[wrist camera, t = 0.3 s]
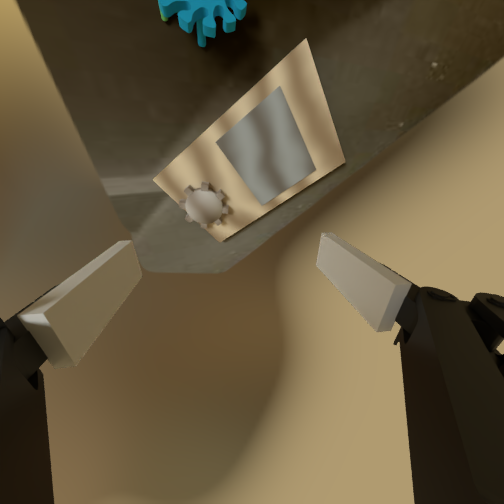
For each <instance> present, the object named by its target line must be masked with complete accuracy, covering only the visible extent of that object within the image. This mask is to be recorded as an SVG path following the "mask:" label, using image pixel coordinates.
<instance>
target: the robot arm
mask: <svg viewBox="0 0 504 504" xmlns="http://www.w3.org/2000/svg"><path fill="white" fill-rule="evenodd" d="M316 266H317V267H318V268H319V269H320V270H321V271H322V273H323V274H324V275H325V276H326V277H327V278H328V279H329V280H330V281H331V282H332V284H334V286H335V287H336V288H337V289H338V290H339V291H340V292H341V293H342V295H343V296H344V297H345V298H346V299H347V300H348V301H349V302H350V303H351V305H352V306H353V307H354V308H355V309H356V310H357V311H358V312H359V313H360V314H361V315H362V317H363V318H364V319H365V320H366V321H367V322H368V323H369V324H370V326H371V327H372V328H373V329H374V330H375V331H376V332H383V331H391V329H392V327H393V325H394V322H395V321H396V322H397V323H398V324H399V325H400V326H401V328H400V330H399V333H398V335H397V337H396V339H395V341H394V345H397V343H398V342H400V351H401V362H402V372H403V383H404V394H405V405H406V415H407V426H408V437H409V449H410V459H411V470H412V480H413V492H414V502H415V504H504V354H503V355H502V354H500V353H499V352H498V351H497V350H496V348H497V347H498V346H499V344H500V343H501V342H502V341H503V340H504V297H502V296H501V297H500V296H499V295H495V294H489V293H477V294H476V295H475V296H474V298H473V299H472V301H471V302H468V301H460V300H458V299H457V298H456V297H455V296H454V295H452V294H450V293H448V292H446V291H443V290H440V289H437V288H433V287H421V288H420V287H418V286H417V285H415V284H413V283H412V282H410V281H409V280H407V279H406V278H404V277H403V276H401V275H398V273H396V272H395V271H392V270H391V269H390V268H388V267H387V266H385V265H383V264H381V263H379V262H377V261H376V260H374V259H372V258H371V257H369V256H368V255H366V254H365V253H363V252H361V251H360V250H358V249H357V248H355V247H353V246H352V245H350V244H349V243H347V242H346V241H344V240H342V239H341V238H339V237H338V236H336V235H335V234H333V233H332V232H330V233H329V232H328V233H322V234H321V239H320V245H319V251H318V257H317V262H316ZM141 277H142V273H141V269H140V266H139V262H138V259H137V255H136V252H135V248H134V245H133V241H132V240H130V241H119V242H117V243H116V244H115V245H113V246H112V247H110V248H109V249H108V250H106V251H105V252H104V253H102V254H101V255H100V256H98V257H97V258H95V259H94V260H93V261H91V262H90V263H89V264H87V265H86V266H84V267H83V268H82V269H80V270H79V271H78V272H76V273H75V274H73V275H72V276H71V277H69V278H68V279H66V280H65V281H64V282H63V283H61V284H59V285H57V286H55V287H53V288H51V289H50V290H49V291H47V292H46V293H45V294H43V296H40V297H39V298H37V299H36V300H35V302H32V303H31V304H29V305H28V306H26V307H25V308H23V309H22V310H21V311H19V312H18V313H16V314H15V315H14V316H12V317H11V318H10V319H8V320H7V321H5V322H3V320H2V319H1V318H0V504H54V496H53V484H52V474H51V473H52V472H51V461H50V449H49V437H48V425H47V414H46V402H45V390H44V378H43V373H42V372H41V370H40V369H39V367H40V366H41V365H42V364H43V363H44V362H45V361H46V360H47V359H48V360H49V362H50V363H51V365H52V366H53V367H54V369H57V368H66V367H75V366H77V364H78V363H79V362H80V360H81V359H82V358H83V356H84V355H85V354H86V352H87V351H88V349H89V348H90V347H91V345H92V344H93V342H94V341H95V340H96V339H97V337H98V336H99V335H100V333H101V332H102V330H103V329H104V328H105V326H106V325H107V324H108V322H109V321H110V320H111V318H112V317H113V315H114V314H115V313H116V311H117V310H118V309H119V307H120V306H121V305H122V303H123V302H124V300H125V299H126V298H127V297H128V295H129V294H130V292H131V291H132V290H133V288H134V287H135V286H136V284H137V283H138V282H139V280H140V279H141Z"/></svg>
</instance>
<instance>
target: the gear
mask: <svg viewBox="0 0 504 504" xmlns="http://www.w3.org/2000/svg"><path fill="white" fill-rule="evenodd" d="M158 3H159V8H160V12H161V17H162V20H164V21H168V17H170V16H172V15H173V14H174V13H177V12H179V13H178V20H179V26H180V27H181V28H182V29H183V30H185V31H186V32H188V33H190V32H192V30H193V25H194V23H195V22H197V36H198V44H199V46H201V47H205V46H206V36H208V37H212V38H215V36H216V23H215V21H214V19H215V17H216V16H221V17H222V18H223V29H224V31H225V32H227V33H229V32H233V31H235V26H236V18H237V19H239V20H241V19H243V18H244V16H245V14H246V7H247V3H246V2H245V1H244V0H158ZM227 7H230V8H232V9H233V11H234V15H235V16H234V15H233V14H232V13H231V12H230V11H229V10H228V8H227ZM235 17H236V18H235Z"/></svg>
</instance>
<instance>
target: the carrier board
mask: <svg viewBox="0 0 504 504" xmlns="http://www.w3.org/2000/svg"><path fill="white" fill-rule="evenodd" d="M343 163H345V159H344V155H343V152H342V149H341V146H340V143H339V140H338V136H337V133H336V130H335V127H334V124H333V121H332V118H331V114H330V111H329V108H328V105H327V102H326V99H325V95H324V92H323V89H322V86H321V83H320V80H319V76H318V73H317V70H316V67H315V64H314V61H313V58H312V54H311V51H310V48H309V45H308V42H307V39H305V40H303V41H302V42H301V43H300V44H299V45H298V46H297V47H296V48H294V49H293V50H292V51H291V52H290V53H289V54H288V55H287V56H286V57H285V58H284V59H283V60H281V61H280V62H279V63H278V64H277V65H276V66H275V67H274V68H273V69H272V70H271V71H270V72H268V73H267V74H266V75H265V76H264V77H263V78H262V79H261V80H260V81H259V82H258V83H257V84H255V85H254V86H253V87H252V88H251V89H250V90H249V91H248V92H247V93H246V94H245V95H244V96H242V97H241V98H240V99H239V100H238V101H237V102H236V103H235V104H234V105H233V106H232V107H231V108H229V109H228V110H227V111H226V112H225V113H224V114H223V115H222V116H221V117H220V118H219V119H218V120H216V121H215V122H214V123H213V124H212V125H211V126H210V127H209V128H208V129H207V130H206V131H205V132H203V133H202V134H201V135H200V136H199V137H198V138H197V139H196V140H195V141H194V142H193V143H192V144H190V145H189V146H188V147H187V148H186V149H185V150H184V151H183V152H182V153H181V154H180V155H179V156H177V157H176V158H175V159H174V160H173V161H172V162H171V163H170V164H169V165H168V166H167V167H166V168H164V169H163V170H162V171H161V172H160V173H159V174H158V175H157V176H156V177H155V178H154V179H153V181H154V182H155V183H156V184H158V185H159V186H160V187H161V188H162V189H163V190H164V191H165V192H166V193H167V194H168V195H169V196H170V197H171V198H173V199H174V200H175V201H176V202H177V203H178V204H179V208H183V209H184V210H185V211H186V212H187V213H188V214H187V215H186V218H185V219H186V220H187V221H188V222H189V223H190V222H192V221H193V220H195V221H196V222H198V223H199V224H200V225H201V228H205V229H206V230H207V231H208V232H209V233H210V234H211V235H212V236H213V237H214V238H215V239H216V240H217V241H219V242H222V241H223V240H225V239H226V238H228V237H229V236H231V235H233V234H234V233H236V232H237V231H239V230H240V229H242V228H243V227H245V226H247V225H248V224H250V223H251V222H253V221H254V220H256V219H257V218H259V217H261V216H262V215H264V214H265V213H267V212H268V211H270V210H271V209H273V208H275V207H276V206H278V205H279V204H281V203H282V202H284V201H285V200H287V199H289V198H290V197H292V196H293V195H295V194H296V193H298V192H299V191H301V190H303V189H304V188H306V187H307V186H309V185H310V184H312V183H314V182H315V181H317V180H318V179H320V178H321V177H323V176H324V175H326V174H328V173H329V172H331V171H332V170H334V169H335V168H337V167H338V166H340V165H342V164H343Z"/></svg>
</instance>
